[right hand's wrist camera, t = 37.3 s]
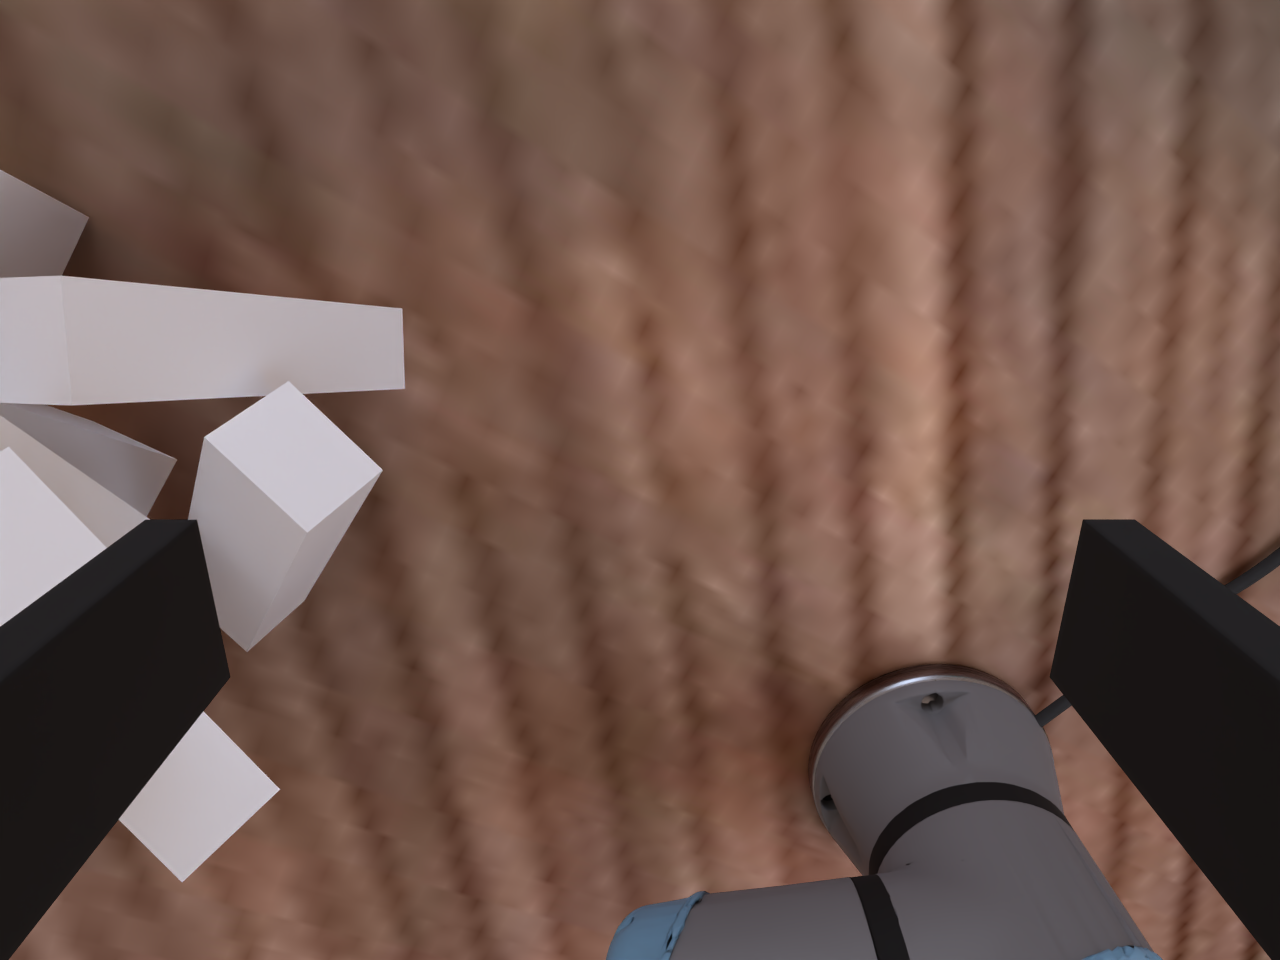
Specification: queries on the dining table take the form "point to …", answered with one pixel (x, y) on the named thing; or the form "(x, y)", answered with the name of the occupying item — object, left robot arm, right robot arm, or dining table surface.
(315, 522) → the pile of blocks
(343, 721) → the dining table surface
